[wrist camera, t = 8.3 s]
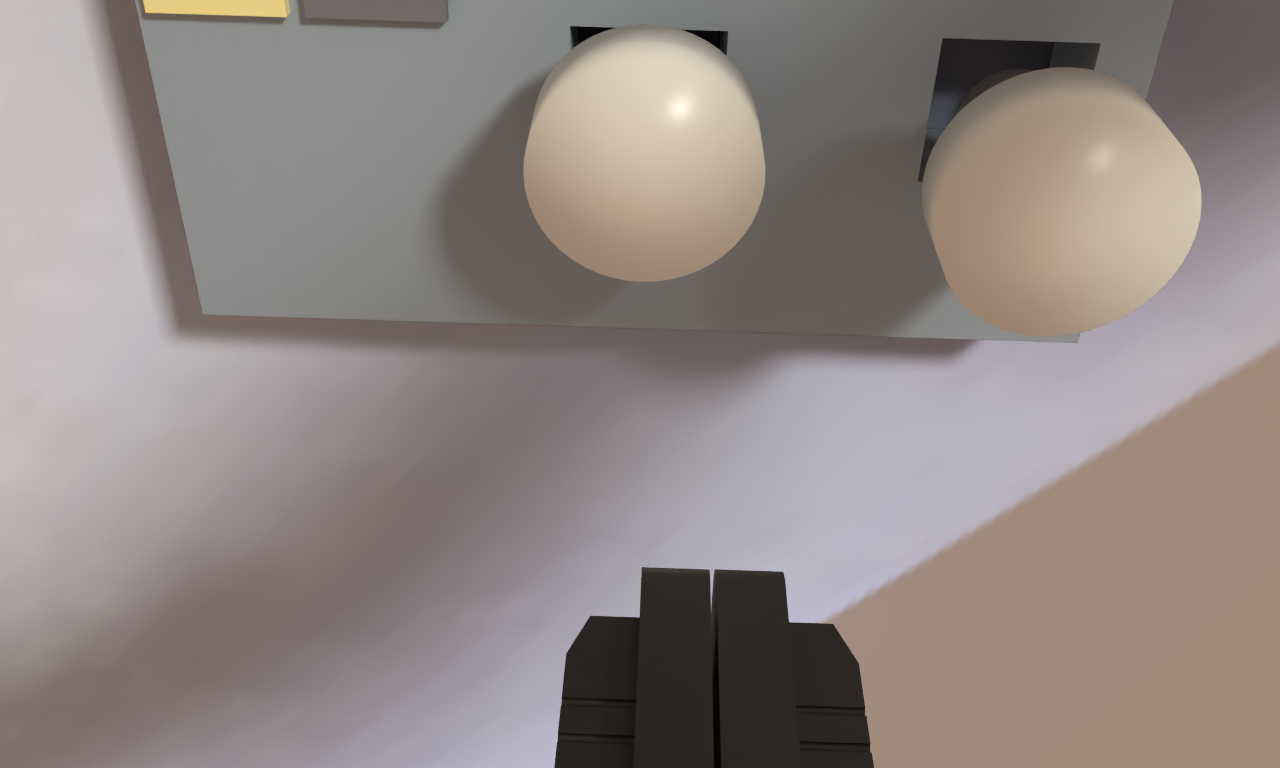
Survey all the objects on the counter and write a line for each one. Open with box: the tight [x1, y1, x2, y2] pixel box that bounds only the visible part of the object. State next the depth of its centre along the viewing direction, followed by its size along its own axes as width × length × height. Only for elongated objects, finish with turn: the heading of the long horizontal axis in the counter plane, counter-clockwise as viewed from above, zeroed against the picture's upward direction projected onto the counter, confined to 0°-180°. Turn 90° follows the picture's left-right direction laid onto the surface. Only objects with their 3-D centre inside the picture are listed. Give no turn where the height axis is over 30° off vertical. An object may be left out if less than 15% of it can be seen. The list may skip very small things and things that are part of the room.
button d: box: [523, 24, 765, 282], centre depth 26 cm, size 5×5×5 cm
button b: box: [922, 67, 1202, 336], centre depth 25 cm, size 5×5×5 cm
